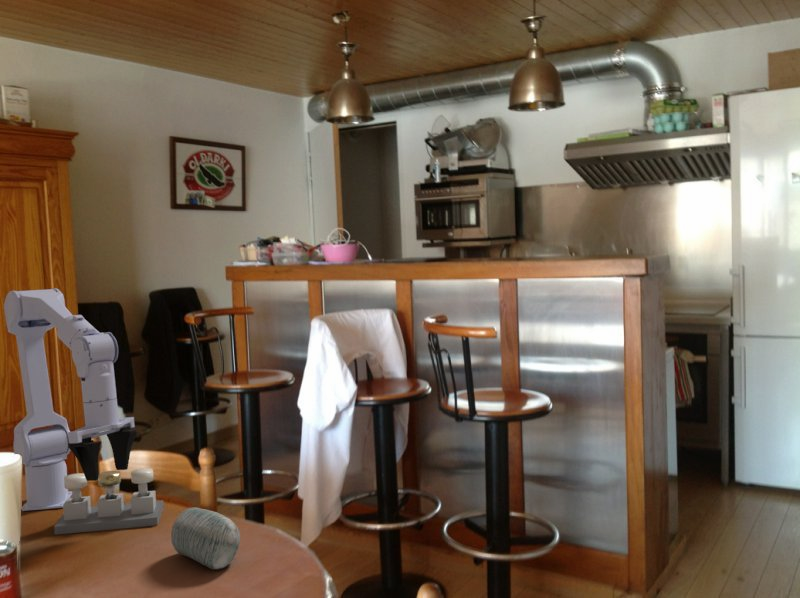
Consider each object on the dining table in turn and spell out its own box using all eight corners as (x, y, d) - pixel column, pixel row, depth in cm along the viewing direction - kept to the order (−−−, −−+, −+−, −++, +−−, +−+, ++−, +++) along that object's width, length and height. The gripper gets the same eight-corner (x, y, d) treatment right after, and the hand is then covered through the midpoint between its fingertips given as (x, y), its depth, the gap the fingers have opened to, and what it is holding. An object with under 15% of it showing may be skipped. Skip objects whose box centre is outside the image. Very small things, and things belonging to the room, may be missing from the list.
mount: (67, 516, 148) (66, 493, 147) (163, 507, 151) (162, 485, 151) (54, 534, 138) (53, 510, 138) (157, 525, 141) (156, 501, 141)
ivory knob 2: (133, 493, 147) (132, 469, 147) (155, 491, 148) (154, 467, 148) (130, 500, 143) (129, 475, 143) (152, 498, 144) (151, 473, 144)
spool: (150, 538, 126) (179, 485, 127) (196, 548, 132) (224, 497, 133) (182, 584, 116) (215, 525, 117) (231, 592, 122) (261, 537, 123)
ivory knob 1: (68, 498, 145) (66, 474, 144) (90, 497, 146) (89, 472, 145) (63, 505, 141) (61, 480, 140) (85, 503, 142) (84, 478, 141)
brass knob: (101, 496, 146) (100, 471, 146) (123, 494, 147) (121, 470, 146) (97, 502, 142) (95, 477, 142) (119, 500, 143) (118, 475, 142)
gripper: (88, 405, 129) (96, 485, 129) (144, 393, 143) (151, 464, 143) (56, 407, 132) (64, 485, 132) (114, 395, 145) (121, 465, 145)
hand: (107, 474), depth 137 cm, fingers open, 7 cm apart
